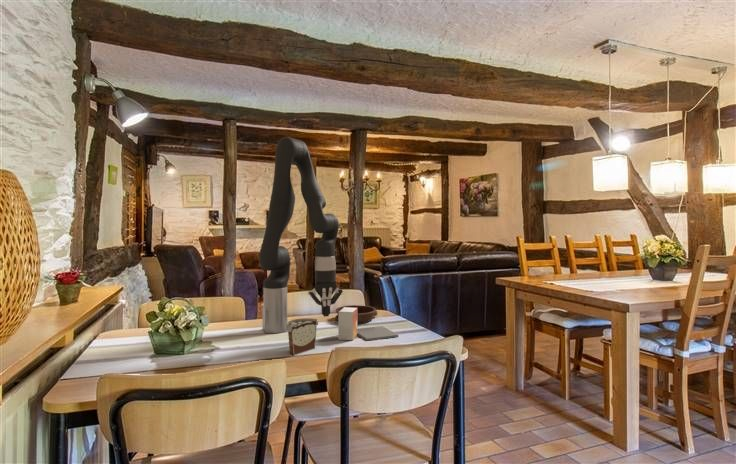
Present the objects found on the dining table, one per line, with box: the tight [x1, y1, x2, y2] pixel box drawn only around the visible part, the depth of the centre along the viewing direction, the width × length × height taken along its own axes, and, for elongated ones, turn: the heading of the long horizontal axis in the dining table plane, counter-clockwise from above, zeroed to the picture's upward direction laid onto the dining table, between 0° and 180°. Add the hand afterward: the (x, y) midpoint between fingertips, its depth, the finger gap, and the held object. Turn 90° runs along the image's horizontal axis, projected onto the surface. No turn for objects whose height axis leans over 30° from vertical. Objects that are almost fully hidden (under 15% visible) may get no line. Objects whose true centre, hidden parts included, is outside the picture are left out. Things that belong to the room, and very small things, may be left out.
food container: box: [286, 317, 319, 356], centre depth 142 cm, size 12×6×10 cm, turn 141°
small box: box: [337, 307, 358, 341], centre depth 158 cm, size 8×6×10 cm
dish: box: [334, 304, 378, 324], centre depth 185 cm, size 18×22×5 cm
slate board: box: [357, 325, 399, 342], centre depth 163 cm, size 13×14×1 cm
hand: (325, 316), depth 154 cm, fingers closed
